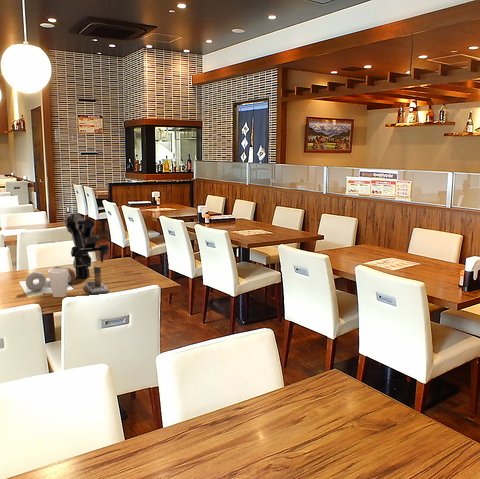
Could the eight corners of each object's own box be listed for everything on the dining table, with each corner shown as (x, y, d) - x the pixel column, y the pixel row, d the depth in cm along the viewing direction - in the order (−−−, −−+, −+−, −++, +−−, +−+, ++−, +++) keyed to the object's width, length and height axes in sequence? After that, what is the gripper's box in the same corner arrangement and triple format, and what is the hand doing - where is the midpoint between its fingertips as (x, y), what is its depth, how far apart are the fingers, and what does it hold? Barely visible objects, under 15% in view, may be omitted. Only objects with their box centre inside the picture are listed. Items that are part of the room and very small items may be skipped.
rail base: (83, 287, 253) (82, 282, 253) (101, 285, 258) (101, 280, 258) (90, 294, 241) (90, 289, 241) (109, 292, 246) (109, 286, 246)
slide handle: (91, 288, 247) (91, 266, 245) (101, 287, 250) (100, 265, 248) (94, 290, 243) (93, 268, 241) (104, 289, 245) (103, 267, 243)
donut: (27, 293, 242) (26, 273, 240) (25, 291, 244) (24, 272, 243) (47, 289, 249) (46, 270, 247) (45, 288, 251) (44, 269, 249)
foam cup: (71, 293, 244) (70, 268, 241) (67, 298, 235) (66, 272, 232) (51, 293, 242) (50, 268, 240) (47, 299, 233) (45, 272, 231)
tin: (76, 283, 261) (75, 268, 260) (72, 285, 258) (71, 269, 257) (53, 280, 266) (52, 266, 265) (49, 282, 263) (48, 267, 262)
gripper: (71, 231, 247) (77, 256, 240) (107, 229, 257) (114, 253, 250) (68, 244, 255) (74, 268, 248) (103, 241, 265) (110, 265, 258)
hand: (93, 263), depth 251 cm, fingers open, 9 cm apart
